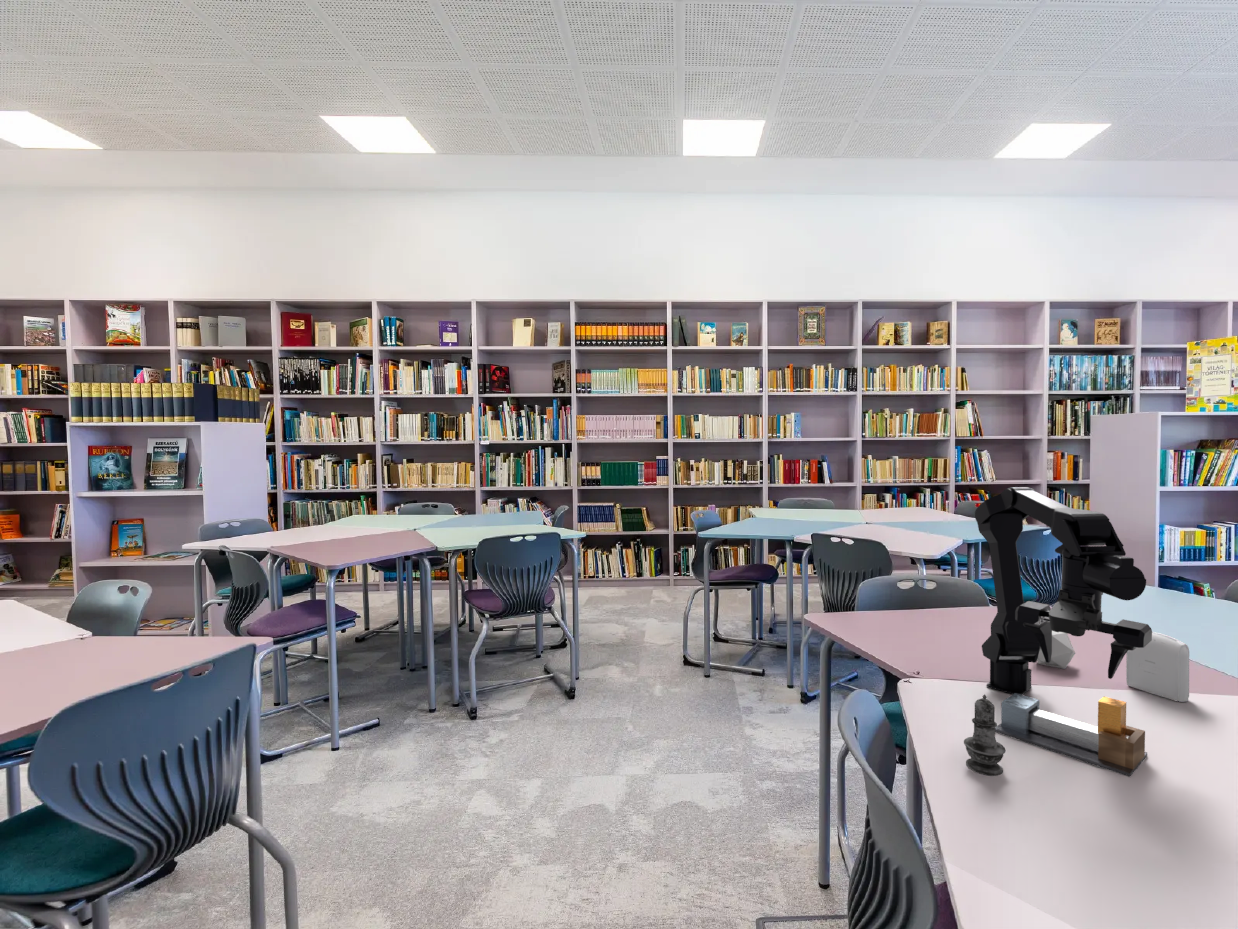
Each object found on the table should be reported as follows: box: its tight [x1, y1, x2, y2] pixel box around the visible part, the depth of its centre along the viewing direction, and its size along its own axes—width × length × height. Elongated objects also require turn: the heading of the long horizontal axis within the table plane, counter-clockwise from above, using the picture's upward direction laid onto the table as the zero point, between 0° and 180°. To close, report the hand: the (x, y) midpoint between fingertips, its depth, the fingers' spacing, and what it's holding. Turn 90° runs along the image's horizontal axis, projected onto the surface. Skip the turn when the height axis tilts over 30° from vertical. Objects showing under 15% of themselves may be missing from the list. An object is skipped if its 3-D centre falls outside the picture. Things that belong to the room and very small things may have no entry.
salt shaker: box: [963, 693, 1007, 777], centre depth 100 cm, size 6×6×12 cm
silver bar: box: [1028, 696, 1130, 752], centre depth 107 cm, size 17×3×8 cm, turn 38°
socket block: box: [1098, 725, 1146, 769], centre depth 101 cm, size 4×7×4 cm
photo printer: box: [1125, 631, 1190, 703], centre depth 127 cm, size 10×4×12 cm, turn 20°
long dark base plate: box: [995, 693, 1148, 778], centre depth 107 cm, size 20×10×5 cm, turn 38°
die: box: [1036, 631, 1076, 670], centre depth 143 cm, size 8×9×10 cm
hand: (1078, 669), depth 110 cm, fingers open, 9 cm apart
